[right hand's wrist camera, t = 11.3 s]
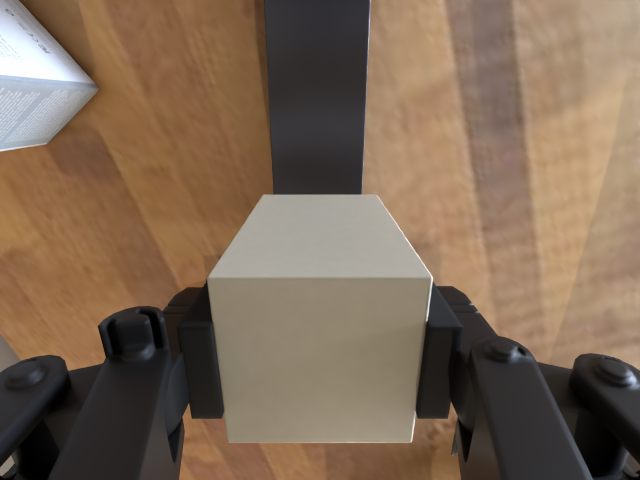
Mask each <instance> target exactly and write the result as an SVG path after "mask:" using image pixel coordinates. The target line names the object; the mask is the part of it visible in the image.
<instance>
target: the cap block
mask: <svg viewBox="0 0 640 480" xmlns="http://www.w3.org/2000/svg"><path fill="white" fill-rule="evenodd" d="M432 281H433V277H432V275H431V274H430V272H429V271H428V269H427V268H426V267H425V265H424V264H423V262H422V261H421V259H420V258H419V256H418V255H417V253H416V252H415V250H414V249H413V247H412V246H411V244H410V243H409V241H408V240H407V239H406V237H405V236H404V234H403V233H402V231H401V230H400V228H399V227H398V225H397V224H396V222H395V221H394V219H393V218H392V216H391V215H390V213H389V212H388V211H387V209H386V208H385V206H384V205H383V203H382V202H381V200H380V199H379V197H378V196H377V195H262V197H261V198H260V200H259V201H258V203H257V204H256V206H255V207H254V209H253V210H252V212H251V213H250V215H249V216H248V218H247V219H246V221H245V222H244V223H243V225H242V226H241V228H240V229H239V231H238V232H237V234H236V235H235V237H234V238H233V240H232V241H231V243H230V244H229V246H228V247H227V249H226V250H225V251H224V253H223V254H222V256H221V257H220V259H219V260H218V262H217V263H216V265H215V266H214V268H213V269H212V271H211V272H210V274H209V275H208V277H207V283H208V291H209V299H210V306H211V314H212V321H213V326H214V334H215V342H216V350H217V358H218V365H219V373H220V381H221V389H222V397H223V405H224V417H225V424H226V432H227V440H228V442H229V443H411V442H412V438H413V430H414V423H415V415H416V403H417V395H418V387H419V379H420V371H421V363H422V356H423V348H424V340H425V332H426V324H427V320H428V313H429V305H430V297H431V289H432Z"/></svg>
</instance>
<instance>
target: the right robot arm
mask: <svg viewBox="0 0 640 480" xmlns="http://www.w3.org/2000/svg"><path fill="white" fill-rule="evenodd" d="M98 329H99V333H100V336H101V340H102V344H103V348H104V352H105V355H106V359H105V361H104V363H103V364H99V365H95V366H90V367H85V368H80V369H76V370H71V371H68V369H67V366H66V363H65V360H63V359H62V358H61V357H60V356H53V355H46V356H37V357H32V358H30V359H25V360H23V361H20V362H19V363H17V364H15V365H12V366H10V367H8V368H6V369H5V370H3V371H2V372H0V467H1V466H2V465H3V463H4V462H5V461H6V460H7V459H8V458H9V457H10V456H12V458H13V460H14V463H15V464H14V465H13V466H12V467H11V468H10V470H9V471H8V472H6V473H5V474H4V475H3V476H2V477H1V476H0V480H179V474H180V466H181V458H182V450H183V442H184V434H185V431H184V424H183V418H182V417H183V414H184V412H185V410H186V408H187V405H188V403H189V404H190V410H191V416H192V419H222V416H223V413H224V405H223V397H222V389H221V381H220V373H219V365H218V358H217V350H216V342H215V334H214V326H213V321H212V314H211V306H210V299H209V291H208V283H207V282H206V283H205V285H204V286H203V287H188V288H186V289H184V290H183V291H181V292H180V293H178V294H176V295H175V296H174V297H173V299H172V300H171V301H170V302H169V304H168V306H166V307H165V309H164V310H163V311H161V310H160V309H159V308H155V307H151V306H138V307H133V308H128V309H125V310H122V311H119V312H117V313H114V314H112V315H111V316H109V317H107V318H106V319H104V320H103V321H102V322H101V323H100V324H99V325H98ZM451 402H452V404H453V406H454V409H455V411H456V413H457V415H458V418H457V424H456V429H455V435H454V440H453V446H452V453H451V455H453V456H456V453H457V449H458V457H459V465H460V473H461V480H640V371H639V370H638V369H636V368H635V367H633V366H632V365H629V364H627V363H625V362H623V361H621V360H620V359H617V358H614V357H610V356H606V355H600V354H592V353H589V354H582V355H580V356H579V357H577V358H576V359H575V362H574V365H573V368H572V369H567V368H562V367H557V366H553V365H548V364H543V363H539V362H536V360H535V358H534V356H533V355H532V354H531V353H530V351H529V350H528V349H526V348H525V347H524V346H522V345H521V344H519V343H517V342H515V341H513V340H511V339H508V338H505V337H501V336H498V335H497V334H496V333H495V332H494V330H493V329H492V328H491V326H490V325H489V324H488V323H487V321H486V320H485V319H484V318H483V316H482V315H481V314H480V313H478V310H477V309H476V308H475V306H474V305H472V302H471V301H470V300H469V299H468V297H467V296H466V295H465V294H464V293H462V292H461V291H459V290H457V289H456V288H454V287H453V286H436V285H435V284H434V282H433V281H432V289H431V297H430V305H429V313H428V320H427V324H426V332H425V340H424V348H423V356H422V363H421V371H420V379H419V387H418V395H417V403H416V414H417V417H418V419H448V415H449V409H450V403H451Z"/></svg>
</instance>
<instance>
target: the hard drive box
mask: <svg viewBox="0 0 640 480" xmlns="http://www.w3.org/2000/svg"><path fill="white" fill-rule="evenodd" d="M98 90H99V87H98V86H97V85H96V84H95V82H94V81H93V80H92V79H91V78H90V77H89V76H88V75H87V74H86V73H85V72H84V71H83V69H82V68H81V67H80V66H79V65H78V64H77V63H76V62H75V61H74V60H73V58H72V57H71V56H70V55H69V54H68V53H67V52H66V51H65V50H64V48H63V47H62V46H61V45H60V44H59V43H58V42H57V41H56V40H55V39H54V38H53V37H52V36H51V35H50V34H49V33H48V32H47V30H46V29H45V28H44V27H43V26H42V25H41V24H40V23H39V22H38V21H37V19H36V18H35V17H34V16H33V15H32V14H31V13H30V12H29V11H28V10H27V8H26V7H25V6H24V5H23V4H22V3H21V2H20V1H19V0H0V151H5V150H12V149H19V148H25V147H32V146H38V145H45V144H47V143H48V142H49V141H50V140H51V139H52V138H53V137H54V136H55V135H56V134H57V133H58V132H59V131H60V130H61V129H62V128H63V127H64V126H65V125H66V124H67V123H68V122H69V121H70V120H71V119H72V118H73V117H74V116H75V115H76V114H77V113H78V112H79V111H80V110H81V109H82V108H83V107H84V105H85V104H86V103H87V102H88V101H89V100H90V99H91V98H92V97H93V96H94V95H95V94H96V93H97V91H98Z"/></svg>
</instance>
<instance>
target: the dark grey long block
mask: <svg viewBox="0 0 640 480" xmlns="http://www.w3.org/2000/svg"><path fill="white" fill-rule="evenodd" d="M370 1H371V0H264V7H265V27H266V48H267V68H268V89H269V109H270V130H271V150H272V171H273V191H274V195H362V184H363V161H364V138H365V115H366V92H367V70H368V47H369V24H370Z"/></svg>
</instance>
